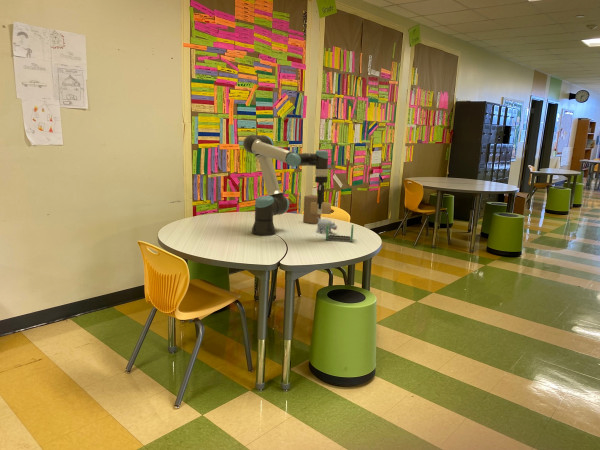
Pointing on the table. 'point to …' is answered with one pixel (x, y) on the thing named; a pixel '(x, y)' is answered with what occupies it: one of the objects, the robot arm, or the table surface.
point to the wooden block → (307, 214)
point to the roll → (325, 208)
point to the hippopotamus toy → (323, 224)
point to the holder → (337, 237)
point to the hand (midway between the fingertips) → (320, 213)
